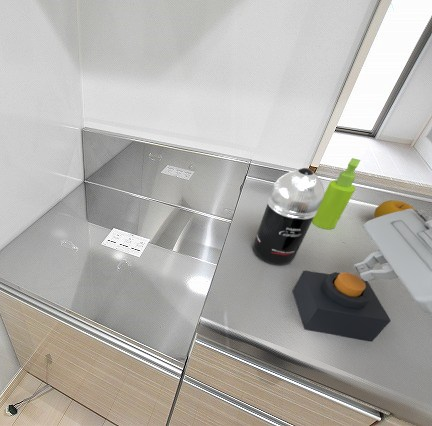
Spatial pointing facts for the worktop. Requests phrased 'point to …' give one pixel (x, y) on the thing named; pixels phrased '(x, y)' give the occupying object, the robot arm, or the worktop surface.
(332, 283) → the button base
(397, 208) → the apple
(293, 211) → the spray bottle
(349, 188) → the soap dispenser
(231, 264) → the worktop surface
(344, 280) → the orange disc
